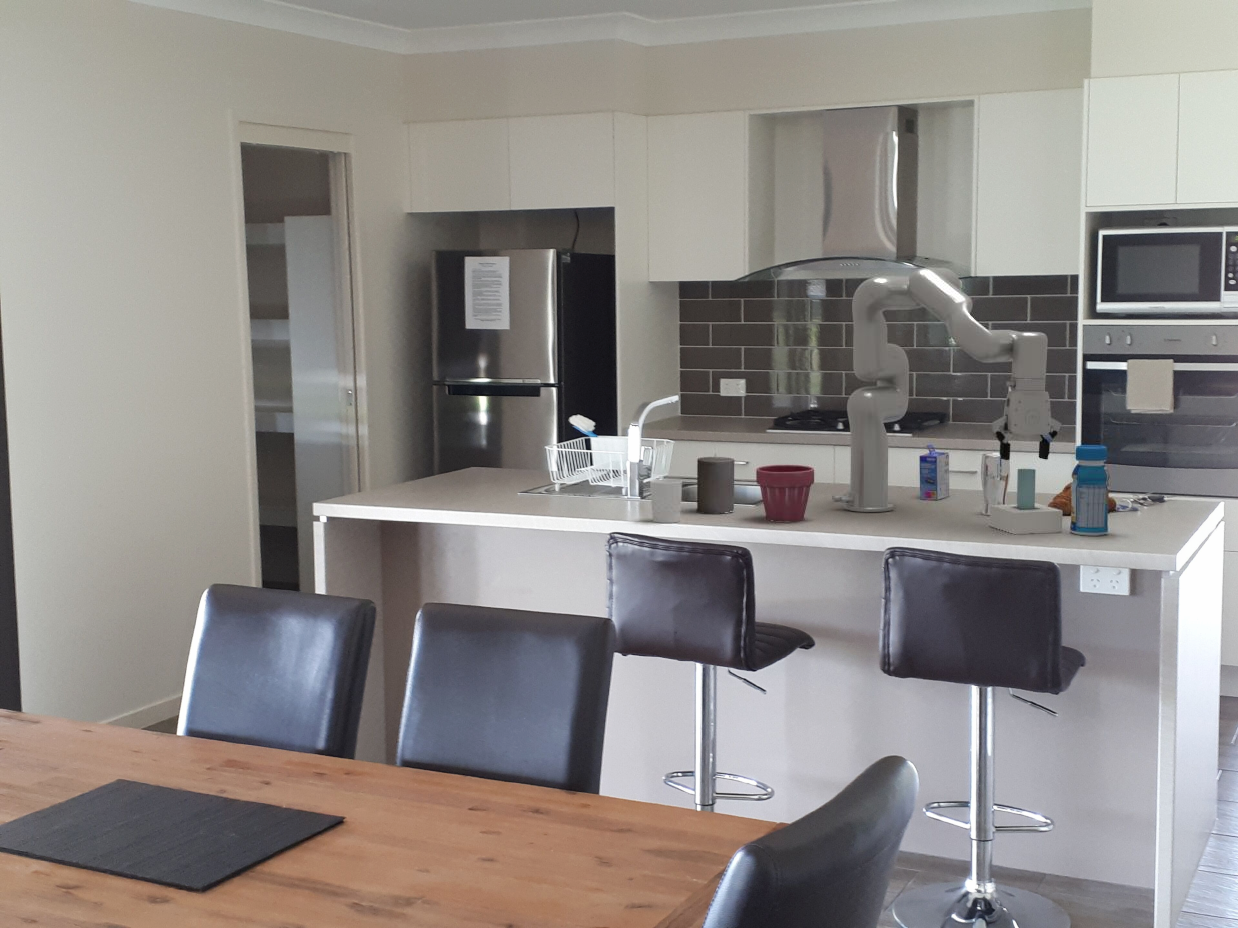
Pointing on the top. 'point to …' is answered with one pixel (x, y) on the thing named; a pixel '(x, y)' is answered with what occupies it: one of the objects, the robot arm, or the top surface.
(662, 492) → the white cup
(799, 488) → the plant pot
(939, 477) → the ink cartridge box
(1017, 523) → the socket block
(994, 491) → the beer glass
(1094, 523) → the beverage bottle
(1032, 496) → the peg
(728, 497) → the pillar candle
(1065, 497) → the pastry
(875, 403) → the robot arm
